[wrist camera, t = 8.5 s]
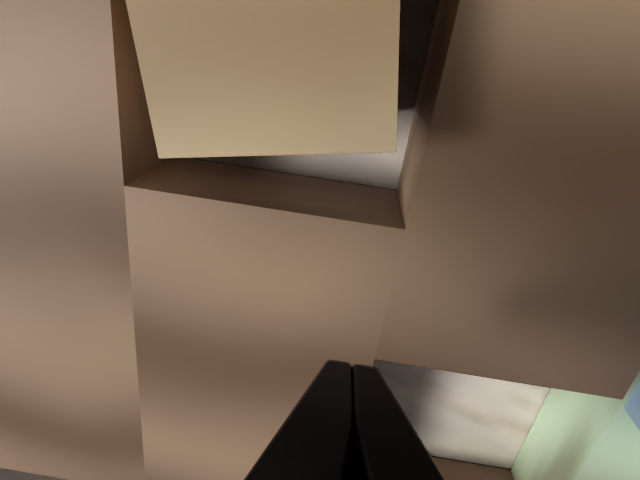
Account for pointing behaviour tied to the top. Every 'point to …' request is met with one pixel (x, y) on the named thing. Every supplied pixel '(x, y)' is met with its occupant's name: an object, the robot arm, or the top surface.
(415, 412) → the top surface
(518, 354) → the trap board
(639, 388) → the blue block
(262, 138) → the oak cube
